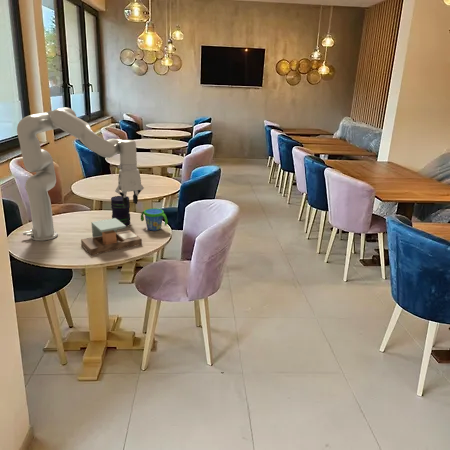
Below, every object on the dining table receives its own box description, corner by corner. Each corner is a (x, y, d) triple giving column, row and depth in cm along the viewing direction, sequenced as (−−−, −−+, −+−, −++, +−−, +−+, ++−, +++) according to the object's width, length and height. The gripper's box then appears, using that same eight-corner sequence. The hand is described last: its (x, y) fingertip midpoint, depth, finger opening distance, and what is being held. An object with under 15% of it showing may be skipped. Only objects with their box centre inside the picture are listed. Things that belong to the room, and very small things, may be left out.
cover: (102, 245, 190) (101, 230, 187) (92, 236, 200) (91, 222, 197) (126, 240, 197) (125, 225, 194) (116, 232, 206) (115, 218, 204)
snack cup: (171, 229, 223) (171, 211, 220) (159, 234, 215) (159, 216, 211) (149, 223, 230) (148, 206, 227) (136, 228, 222) (135, 210, 218)
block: (106, 246, 196) (105, 234, 194) (102, 242, 200) (102, 231, 197) (116, 244, 199) (116, 232, 196) (112, 240, 202) (112, 229, 200)
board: (91, 255, 188) (90, 248, 187) (81, 245, 198) (80, 239, 197) (141, 244, 202) (141, 238, 201) (130, 235, 212) (129, 229, 211)
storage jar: (108, 225, 225) (107, 199, 220) (118, 220, 234) (116, 194, 229) (125, 228, 222) (123, 201, 217) (133, 222, 231) (132, 196, 226)
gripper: (114, 170, 186) (116, 208, 192) (148, 166, 195) (149, 203, 201) (108, 167, 191) (110, 204, 197) (141, 163, 201) (143, 199, 207)
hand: (130, 203), depth 199 cm, fingers open, 4 cm apart
